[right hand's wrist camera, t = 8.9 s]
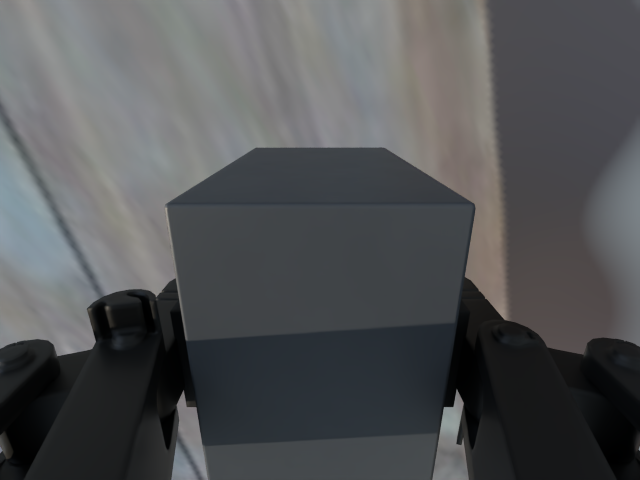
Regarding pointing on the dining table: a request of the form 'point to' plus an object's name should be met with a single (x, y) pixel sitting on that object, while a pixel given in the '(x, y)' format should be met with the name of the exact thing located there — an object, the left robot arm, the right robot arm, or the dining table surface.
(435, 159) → the dining table surface
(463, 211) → the bar
